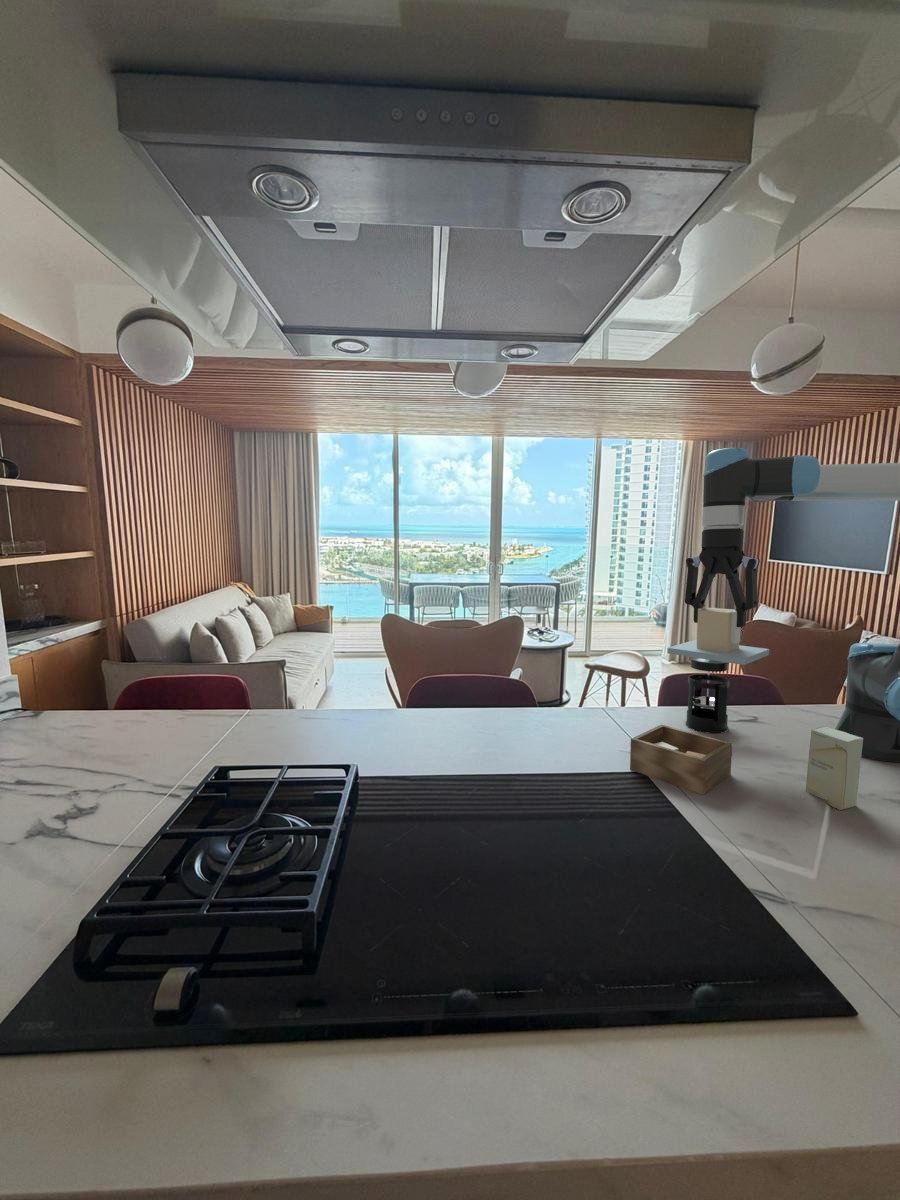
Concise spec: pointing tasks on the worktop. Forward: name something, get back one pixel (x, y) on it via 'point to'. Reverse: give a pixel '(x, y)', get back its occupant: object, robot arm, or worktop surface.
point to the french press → (707, 698)
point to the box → (681, 758)
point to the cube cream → (666, 746)
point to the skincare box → (834, 766)
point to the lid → (717, 640)
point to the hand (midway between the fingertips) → (718, 640)
